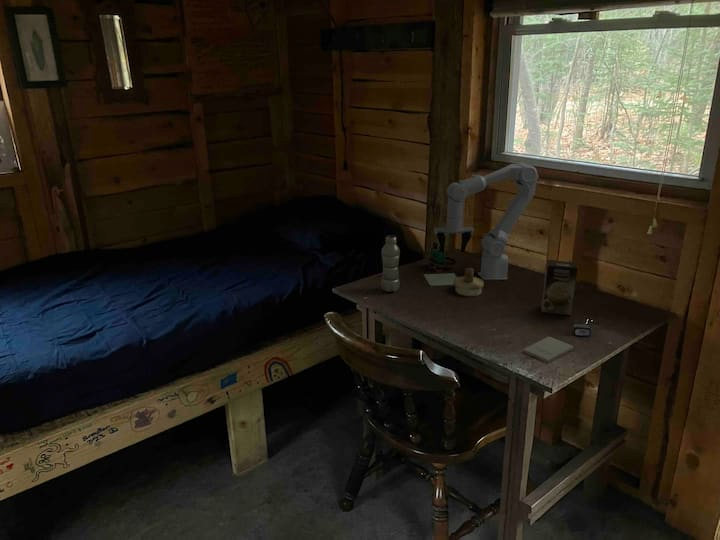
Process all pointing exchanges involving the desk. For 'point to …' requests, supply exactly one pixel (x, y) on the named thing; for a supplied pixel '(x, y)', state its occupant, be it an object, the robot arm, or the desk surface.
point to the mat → (440, 279)
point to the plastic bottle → (390, 265)
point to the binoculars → (439, 259)
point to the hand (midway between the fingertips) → (452, 252)
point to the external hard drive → (548, 349)
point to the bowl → (468, 292)
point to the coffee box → (559, 287)
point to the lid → (468, 281)
